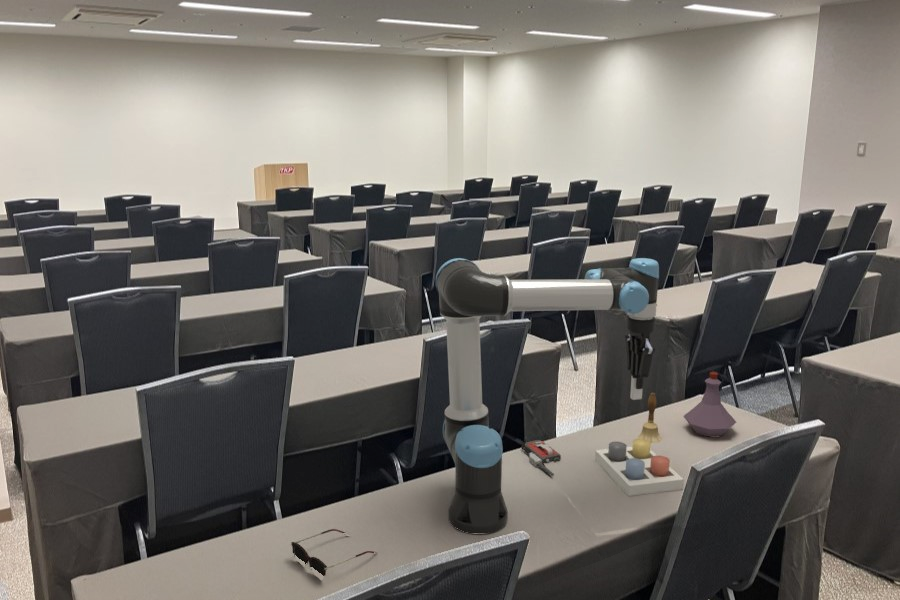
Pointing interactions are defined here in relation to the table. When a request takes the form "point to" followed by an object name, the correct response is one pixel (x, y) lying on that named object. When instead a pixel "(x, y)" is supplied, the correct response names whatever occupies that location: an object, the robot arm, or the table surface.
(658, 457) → the button brick
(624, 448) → the button charcoal
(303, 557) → the sunglasses
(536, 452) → the walkie-talkie
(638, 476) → the button slate
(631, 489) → the console
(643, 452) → the button mustard
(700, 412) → the flask
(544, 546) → the table surface
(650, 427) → the hand bell
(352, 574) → the table surface
